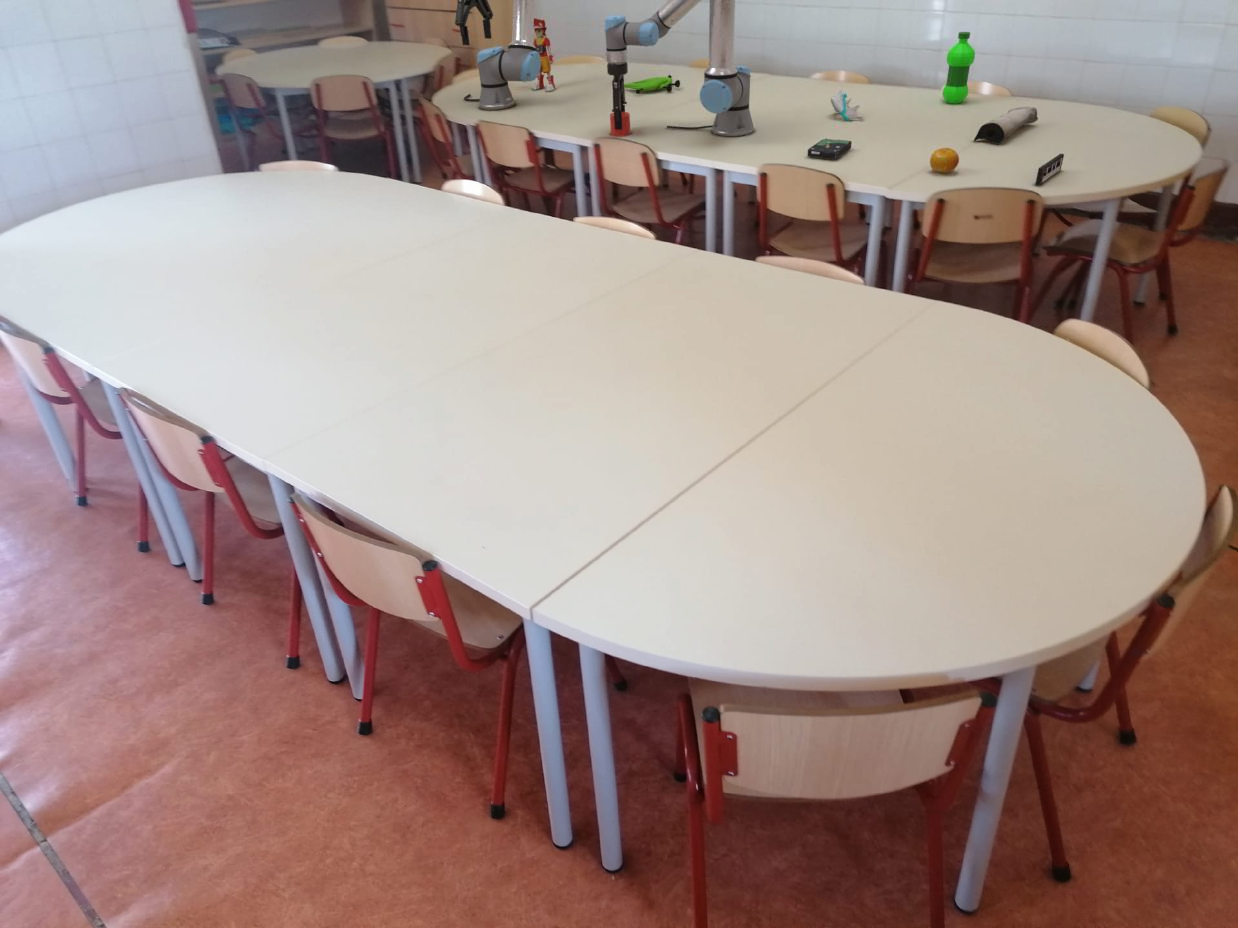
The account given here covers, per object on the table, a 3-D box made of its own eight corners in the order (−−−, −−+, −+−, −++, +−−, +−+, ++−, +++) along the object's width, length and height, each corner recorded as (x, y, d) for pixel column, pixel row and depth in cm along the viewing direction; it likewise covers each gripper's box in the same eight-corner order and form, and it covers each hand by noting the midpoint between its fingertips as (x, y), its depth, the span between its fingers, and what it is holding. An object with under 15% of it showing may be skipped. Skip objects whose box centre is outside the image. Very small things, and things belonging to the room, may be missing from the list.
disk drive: (836, 161, 300) (851, 148, 310) (836, 152, 298) (852, 140, 308) (806, 157, 305) (822, 145, 315) (807, 149, 303) (823, 137, 313)
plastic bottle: (973, 101, 354) (984, 32, 339) (955, 106, 349) (966, 36, 335) (952, 97, 361) (962, 29, 346) (934, 102, 356) (944, 33, 342)
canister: (621, 137, 338) (620, 117, 334) (606, 134, 343) (605, 115, 339) (634, 132, 343) (633, 113, 339) (619, 130, 347) (618, 110, 343)
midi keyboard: (1039, 185, 269) (1043, 168, 266) (1035, 184, 270) (1038, 168, 267) (1060, 170, 279) (1064, 154, 277) (1056, 169, 280) (1060, 153, 277)
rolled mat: (1005, 112, 327) (1029, 94, 319) (1019, 133, 327) (1043, 116, 319) (969, 134, 310) (993, 117, 301) (984, 157, 310) (1008, 139, 302)
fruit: (924, 163, 281) (941, 140, 278) (925, 165, 289) (941, 143, 286) (946, 178, 280) (963, 155, 277) (947, 180, 288) (963, 158, 285)
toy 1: (527, 91, 410) (520, 18, 393) (536, 86, 417) (529, 15, 400) (551, 91, 406) (544, 19, 389) (559, 87, 413) (553, 15, 396)
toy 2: (689, 81, 403) (635, 80, 419) (688, 69, 400) (634, 69, 416) (655, 100, 386) (600, 99, 403) (654, 88, 383) (598, 87, 400)
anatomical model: (825, 90, 346) (851, 83, 346) (828, 117, 352) (853, 110, 352) (836, 99, 334) (863, 92, 333) (839, 127, 340) (865, 120, 339)
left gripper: (455, -16, 319) (464, 48, 332) (497, -26, 337) (504, 36, 349) (439, -17, 323) (448, 47, 335) (481, -26, 340) (489, 35, 352)
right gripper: (611, 56, 338) (614, 119, 350) (602, 69, 320) (606, 134, 333) (630, 56, 337) (633, 118, 349) (623, 68, 319) (626, 133, 332)
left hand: (477, 42), depth 342 cm, fingers open, 13 cm apart
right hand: (620, 126), depth 341 cm, fingers open, 9 cm apart
